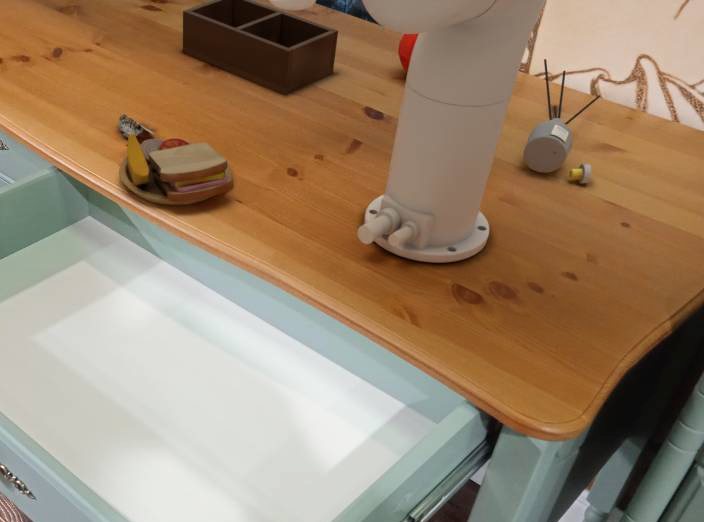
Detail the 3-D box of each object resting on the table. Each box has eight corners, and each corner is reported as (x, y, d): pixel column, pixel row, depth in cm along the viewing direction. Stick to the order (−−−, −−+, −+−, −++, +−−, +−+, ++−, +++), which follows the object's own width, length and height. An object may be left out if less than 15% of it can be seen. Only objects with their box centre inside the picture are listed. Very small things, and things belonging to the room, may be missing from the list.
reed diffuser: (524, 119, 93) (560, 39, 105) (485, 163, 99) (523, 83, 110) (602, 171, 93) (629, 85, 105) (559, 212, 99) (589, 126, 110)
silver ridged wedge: (134, 142, 101) (152, 153, 103) (144, 124, 100) (162, 136, 102) (112, 129, 105) (130, 140, 107) (121, 112, 105) (139, 124, 107)
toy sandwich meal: (217, 146, 101) (218, 109, 97) (245, 209, 91) (248, 169, 88) (112, 156, 99) (110, 118, 96) (130, 220, 90) (128, 181, 86)
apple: (412, 60, 120) (422, 6, 115) (463, 76, 117) (476, 20, 112) (382, 78, 116) (392, 22, 111) (434, 95, 112) (446, 38, 107)
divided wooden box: (284, 95, 112) (288, 51, 108) (182, 52, 122) (182, 10, 118) (333, 73, 117) (338, 30, 113) (231, 34, 127) (232, -7, 123)
